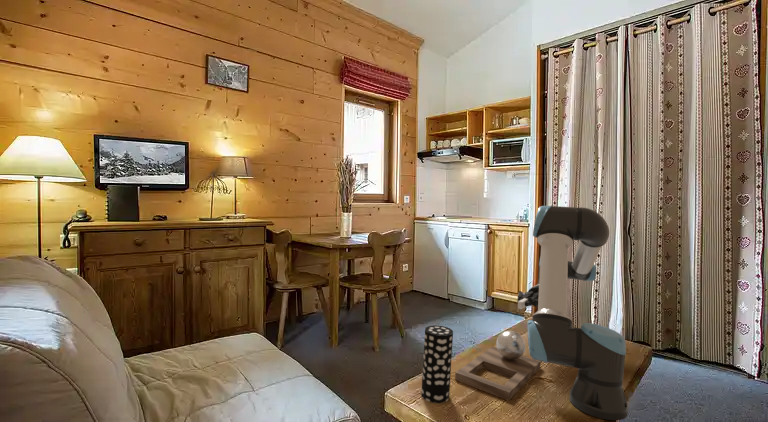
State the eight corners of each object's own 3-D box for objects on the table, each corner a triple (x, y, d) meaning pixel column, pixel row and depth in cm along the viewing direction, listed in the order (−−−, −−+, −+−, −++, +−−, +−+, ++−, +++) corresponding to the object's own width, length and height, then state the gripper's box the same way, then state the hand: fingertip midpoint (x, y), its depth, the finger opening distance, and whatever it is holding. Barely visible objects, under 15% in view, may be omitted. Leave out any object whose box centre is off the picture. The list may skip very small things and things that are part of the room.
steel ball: (529, 364, 133) (531, 336, 133) (502, 364, 132) (504, 336, 132) (516, 352, 143) (518, 326, 143) (491, 352, 142) (492, 326, 142)
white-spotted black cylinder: (430, 385, 120) (434, 323, 119) (454, 395, 115) (458, 330, 114) (415, 395, 114) (419, 330, 113) (439, 406, 109) (444, 337, 108)
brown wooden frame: (492, 352, 148) (492, 346, 148) (540, 368, 137) (540, 361, 137) (455, 379, 125) (455, 372, 125) (508, 400, 114) (509, 392, 114)
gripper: (555, 306, 157) (537, 319, 139) (523, 299, 165) (502, 311, 147) (556, 288, 156) (538, 299, 138) (524, 282, 165) (503, 291, 146)
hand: (519, 305), depth 143 cm, fingers closed
